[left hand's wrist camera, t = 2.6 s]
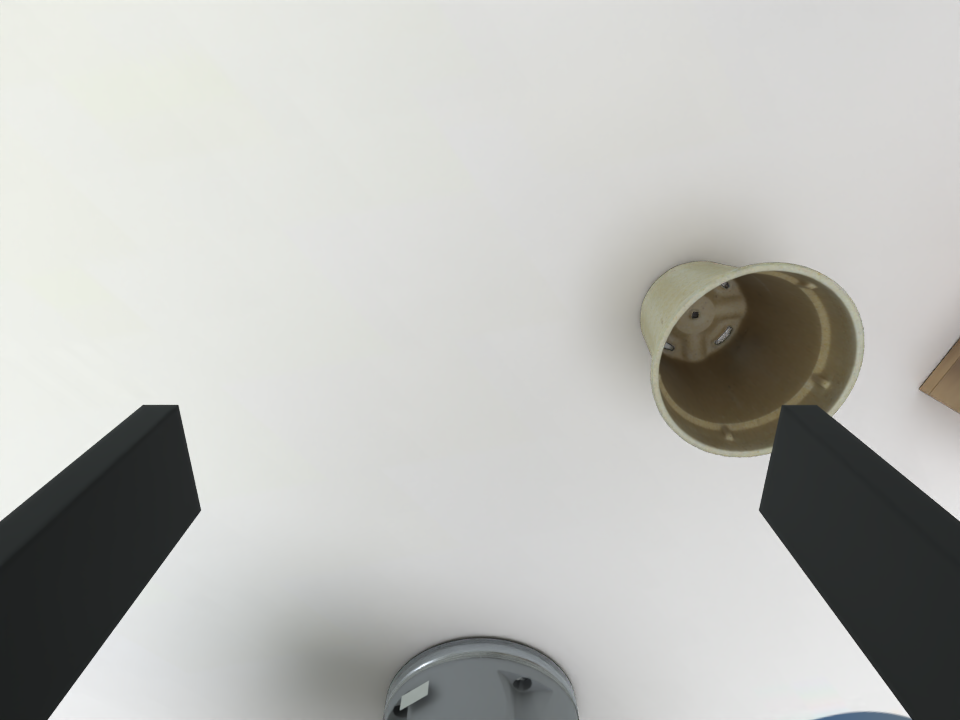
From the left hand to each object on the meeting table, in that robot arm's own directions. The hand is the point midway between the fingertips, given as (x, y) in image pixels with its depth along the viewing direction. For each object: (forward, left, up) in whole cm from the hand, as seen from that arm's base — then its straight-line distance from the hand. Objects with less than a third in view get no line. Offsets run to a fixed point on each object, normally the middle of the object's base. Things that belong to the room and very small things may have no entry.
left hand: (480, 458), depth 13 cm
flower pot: (-7, -11, -22) cm, 25 cm away
